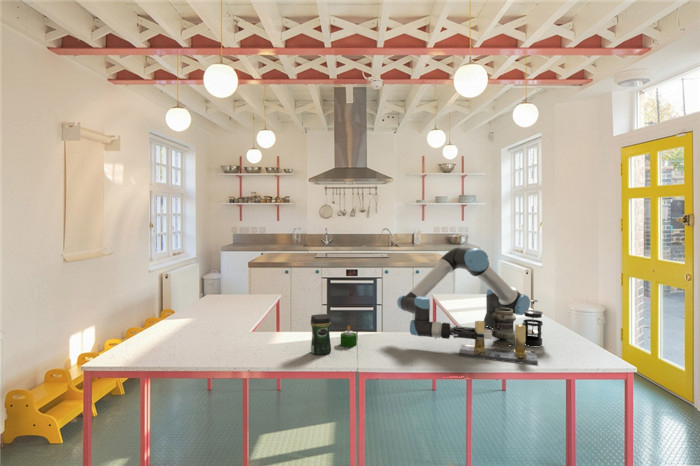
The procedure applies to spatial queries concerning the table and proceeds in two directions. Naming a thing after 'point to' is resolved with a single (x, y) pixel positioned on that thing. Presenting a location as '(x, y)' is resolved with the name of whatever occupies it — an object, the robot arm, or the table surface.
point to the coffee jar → (320, 334)
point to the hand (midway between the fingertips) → (491, 334)
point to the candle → (348, 338)
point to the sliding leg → (479, 342)
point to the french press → (532, 339)
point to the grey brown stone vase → (503, 326)
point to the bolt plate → (504, 350)
